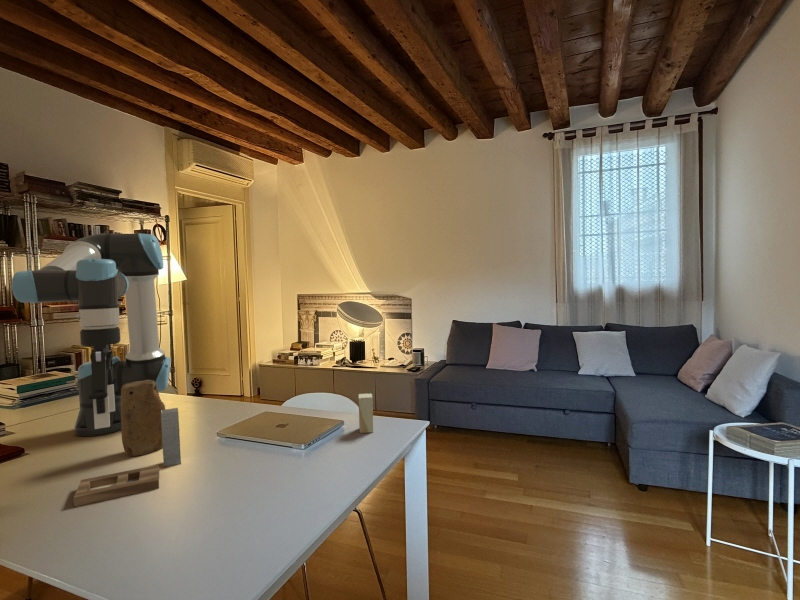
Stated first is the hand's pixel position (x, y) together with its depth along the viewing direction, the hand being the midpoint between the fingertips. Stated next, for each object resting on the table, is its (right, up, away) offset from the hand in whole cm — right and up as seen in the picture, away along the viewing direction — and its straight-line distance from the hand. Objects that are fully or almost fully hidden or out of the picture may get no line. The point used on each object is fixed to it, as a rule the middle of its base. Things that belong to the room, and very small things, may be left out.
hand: (105, 419), depth 101 cm
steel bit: (+7, -16, +16) cm, 23 cm away
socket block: (+2, -17, +2) cm, 17 cm away
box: (+57, -14, +37) cm, 69 cm away
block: (-5, -16, +25) cm, 30 cm away
